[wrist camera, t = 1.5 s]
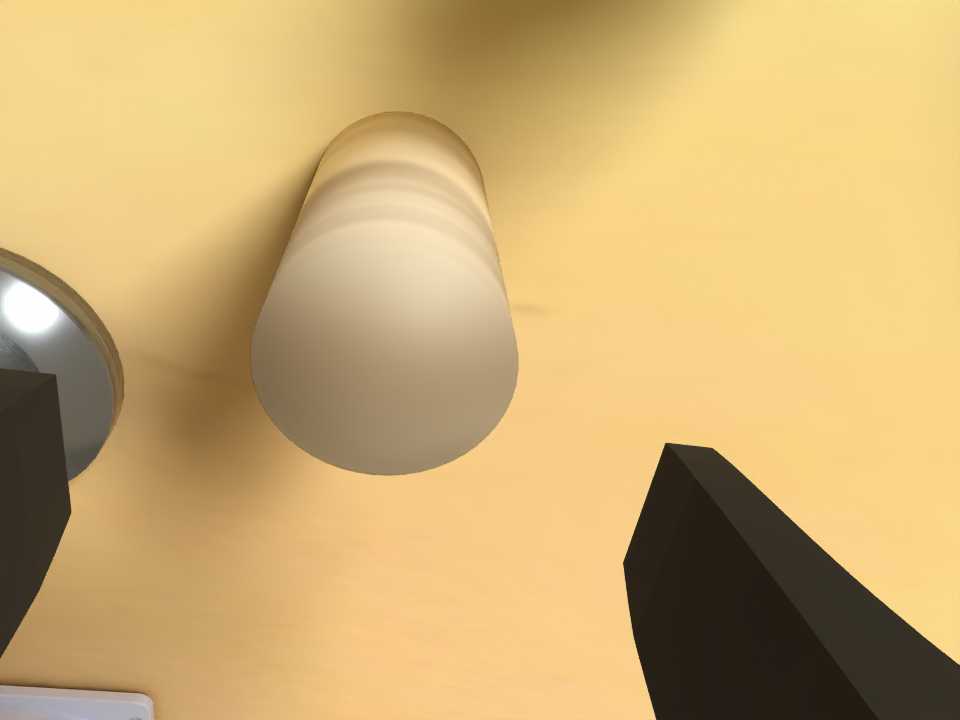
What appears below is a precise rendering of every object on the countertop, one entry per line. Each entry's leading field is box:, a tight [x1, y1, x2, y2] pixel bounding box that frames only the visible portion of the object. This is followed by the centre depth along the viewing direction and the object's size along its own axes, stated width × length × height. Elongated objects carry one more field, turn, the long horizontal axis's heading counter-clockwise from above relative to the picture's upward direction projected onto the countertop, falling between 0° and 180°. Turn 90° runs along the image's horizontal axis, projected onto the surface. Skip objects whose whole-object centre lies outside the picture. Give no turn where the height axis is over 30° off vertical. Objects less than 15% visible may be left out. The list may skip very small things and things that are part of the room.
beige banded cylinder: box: [250, 112, 518, 476], centre depth 16 cm, size 4×4×8 cm
